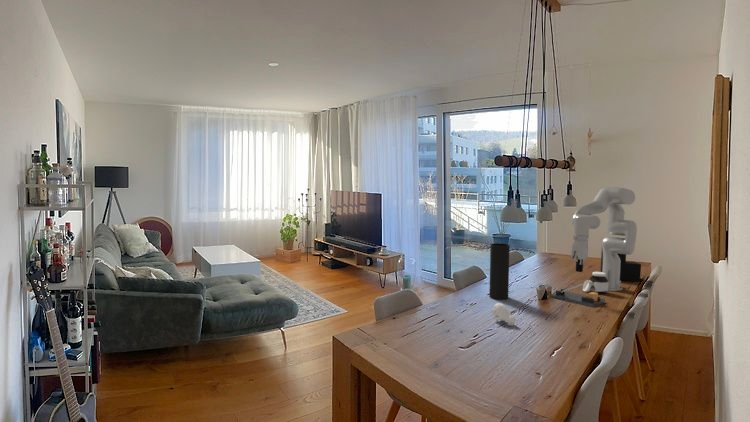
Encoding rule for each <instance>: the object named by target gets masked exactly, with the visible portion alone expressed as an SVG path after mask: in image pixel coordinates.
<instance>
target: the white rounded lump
mask: <svg viewBox="0 0 750 422" xmlns="http://www.w3.org/2000/svg"><path fill="white" fill-rule="evenodd" d="M491 312H492V316H493V319H494V323H498V321H503V322H504V321H505V322H506V324H507V326H511V327H513V326H514V325H515V323H516V318H515V316H514V315H511V312H510V311H509V309H508V308H507V306H506V305H505V304H504V303H499V302H497V303H495V304H494V305H493V307H492V309H491Z"/></svg>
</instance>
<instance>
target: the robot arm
mask: <svg viewBox="0 0 750 422" xmlns="http://www.w3.org/2000/svg"><path fill="white" fill-rule="evenodd" d="M635 201H636V194H635V192H634V191H633V190H632V189H629V188H626V187H625V188H624V187H618V186H617V187H616V186H615V187H614V186H612V187H611V186H608V187H607V186H606V187H602V188H601V189H600V190H599V191H598V192H597V194H596V195H595V197H594V199H593V200H592V201H591V202H589V203H586V204H584V205H582V206H581V207H578V209H577V210H576V211H575V212H574V215H573V216H572V219H571V223H572V226H573V236H572V237H573V238H572V239H573V240H572V245H571V251H570V252H571V254H570V257H571V259H573V262H574V263H575V272H579V273H583V272H584V264H585V261H586V259H588V256H589V235H590V233H589V232H590V229H591V230H596V229H598V228H599V227H600V226H601V219H600V217H599V216H597V215H599V214H603V213H604V212H605V211H607V209H608V215H607V222H606V231H607V233H608V234H609V235H613V236H606V237H604V238H603V239H602V241H601V250H602V249H603V271H602V272H603V273H605V277H606V278H607V279H608V291H610V292H620V291H623V287H622V286H621V285H620V284H622V281H620V265H621V260H620V258H619V256H618V254H626V256H627V255H632V254H633V253H634V251H635V248H636V239H637V232H638V227H637V223H636V222H635V221H634V220H630V219H625V214H626V213H625V209H624V207H623V206H622V205H626V206H627V205H628V206H629V205H633V203H635ZM618 236H623V237H618Z"/></svg>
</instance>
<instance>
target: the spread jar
mask: <svg viewBox="0 0 750 422" xmlns="http://www.w3.org/2000/svg"><path fill="white" fill-rule="evenodd" d="M583 284H584V285H582V291H583V292H585V293H589V291H590V293H591V292H596V293H598V295H604V294H606V293H607V292H608V291H609V290H608V279H607V278H606V277H605V273H603V272H600V271H593V272H592V275H590V277H589V279H586V280H585V281H584V282H583Z"/></svg>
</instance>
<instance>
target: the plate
mask: <svg viewBox="0 0 750 422" xmlns="http://www.w3.org/2000/svg"><path fill="white" fill-rule="evenodd" d="M563 290H566V289H564V288H561V289H560V290H555V293H552V294H550V295H551V296H550V297H549V298H550V299H551V298H552V299H556V300H561V301H565V302H569V303H574V304H577V305H581V306H586V307H591V308H593V307H597V306H599V305H602V304H605V303H606V299H604V298H601V296H598V300H597V301H594V300H595V299H592V298H587V297H585V295H586V294H585V295H584V294H581V293H575V292H570V291H565V292H563V293H560V291H563Z"/></svg>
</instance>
